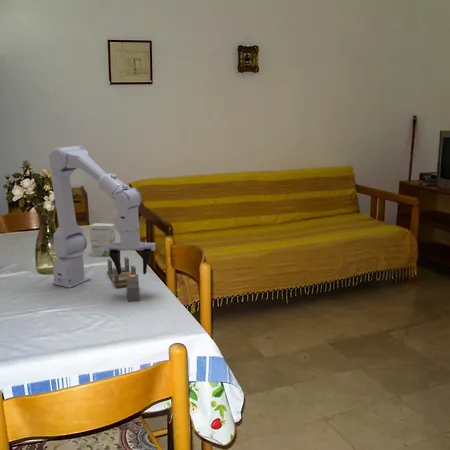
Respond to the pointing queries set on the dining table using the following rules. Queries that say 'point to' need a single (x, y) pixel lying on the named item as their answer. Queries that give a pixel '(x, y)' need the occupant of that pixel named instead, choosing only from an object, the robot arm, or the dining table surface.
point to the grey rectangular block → (132, 288)
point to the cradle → (120, 279)
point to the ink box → (101, 238)
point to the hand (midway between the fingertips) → (132, 273)
